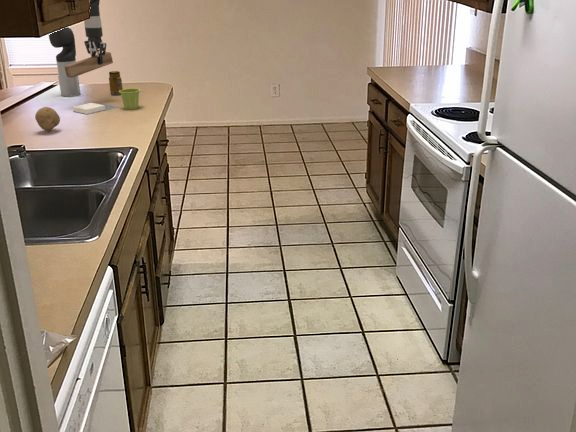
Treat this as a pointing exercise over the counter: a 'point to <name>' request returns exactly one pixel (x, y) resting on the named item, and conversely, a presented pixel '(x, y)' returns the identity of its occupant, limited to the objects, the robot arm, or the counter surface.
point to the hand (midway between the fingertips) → (97, 63)
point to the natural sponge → (47, 118)
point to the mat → (107, 107)
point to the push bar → (87, 65)
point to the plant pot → (130, 98)
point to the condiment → (115, 83)
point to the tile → (89, 108)
